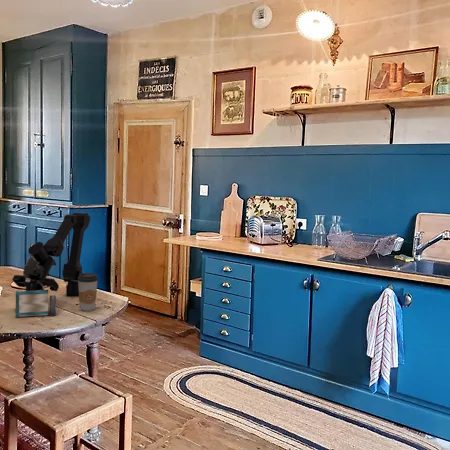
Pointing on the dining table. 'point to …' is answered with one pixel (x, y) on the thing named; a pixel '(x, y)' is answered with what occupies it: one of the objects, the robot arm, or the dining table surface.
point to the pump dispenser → (30, 263)
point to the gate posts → (52, 305)
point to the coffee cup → (87, 291)
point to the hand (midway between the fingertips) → (26, 300)
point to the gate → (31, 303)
